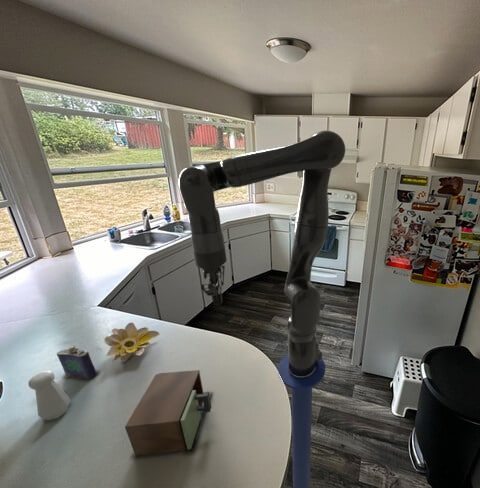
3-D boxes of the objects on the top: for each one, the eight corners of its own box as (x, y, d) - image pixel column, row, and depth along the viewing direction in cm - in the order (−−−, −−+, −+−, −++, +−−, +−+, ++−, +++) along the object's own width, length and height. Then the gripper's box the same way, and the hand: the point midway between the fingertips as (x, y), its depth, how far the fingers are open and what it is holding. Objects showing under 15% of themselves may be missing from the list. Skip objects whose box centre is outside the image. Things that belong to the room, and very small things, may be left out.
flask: (63, 376, 76) (51, 349, 73) (73, 369, 79) (62, 342, 75) (91, 379, 76) (81, 352, 72) (100, 371, 79) (91, 345, 75)
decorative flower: (135, 367, 78) (121, 340, 76) (102, 372, 79) (88, 346, 77) (165, 336, 93) (155, 313, 90) (138, 341, 94) (127, 318, 91)
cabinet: (211, 393, 73) (206, 368, 69) (193, 450, 59) (187, 421, 56) (163, 398, 71) (156, 372, 68) (134, 457, 57) (123, 428, 54)
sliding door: (213, 416, 66) (208, 388, 63) (204, 447, 59) (198, 418, 56) (198, 417, 66) (192, 390, 62) (187, 449, 59) (180, 420, 55)
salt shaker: (45, 428, 63) (25, 390, 58) (38, 415, 65) (18, 379, 61) (75, 409, 67) (59, 373, 63) (68, 398, 70) (52, 363, 66)
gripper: (216, 256, 59) (225, 317, 65) (230, 238, 71) (237, 291, 77) (183, 257, 58) (195, 319, 64) (202, 238, 70) (211, 292, 76)
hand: (218, 303), depth 70 cm, fingers closed
